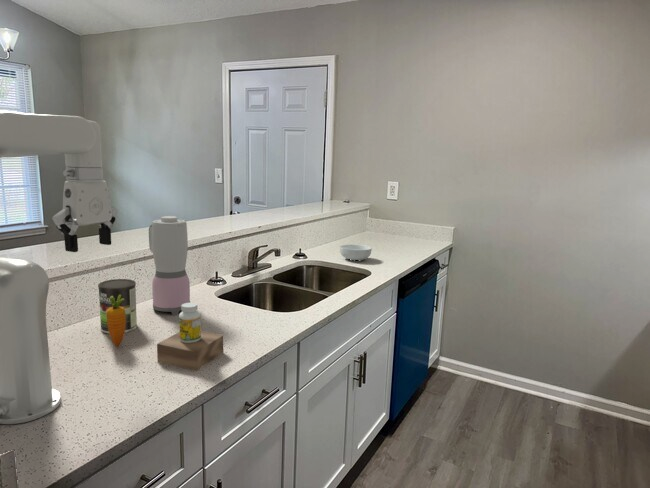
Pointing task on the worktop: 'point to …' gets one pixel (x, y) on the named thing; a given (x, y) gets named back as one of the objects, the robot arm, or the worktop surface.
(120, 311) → the carrot
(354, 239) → the worktop surface
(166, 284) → the blender
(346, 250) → the cereal bowl
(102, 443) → the worktop surface
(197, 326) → the supplement bottle
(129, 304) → the food can
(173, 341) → the brown cardboard box
